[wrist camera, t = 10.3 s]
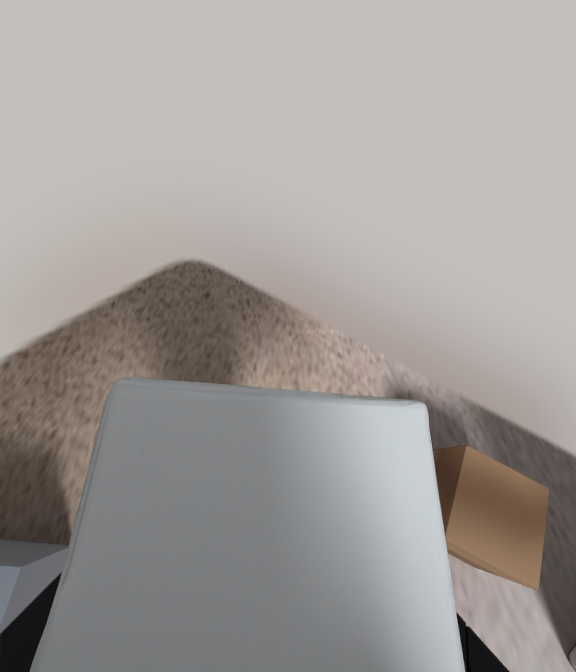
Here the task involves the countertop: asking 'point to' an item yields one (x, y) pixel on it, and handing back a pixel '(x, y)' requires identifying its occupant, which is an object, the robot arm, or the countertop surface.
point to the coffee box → (573, 657)
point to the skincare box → (255, 537)
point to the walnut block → (491, 514)
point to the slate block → (26, 574)
